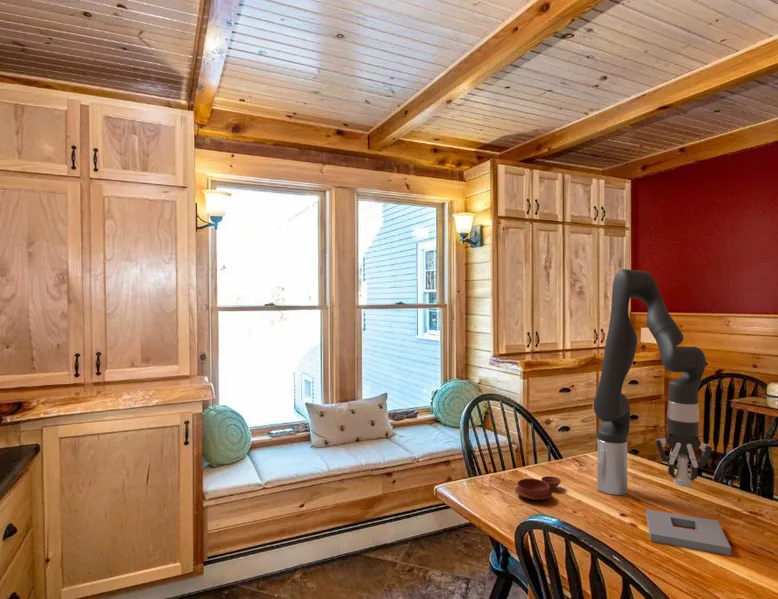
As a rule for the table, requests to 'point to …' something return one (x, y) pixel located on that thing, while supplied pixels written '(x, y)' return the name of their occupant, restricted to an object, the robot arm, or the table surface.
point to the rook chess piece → (682, 472)
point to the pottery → (537, 487)
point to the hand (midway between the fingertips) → (682, 477)
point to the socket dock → (687, 532)
